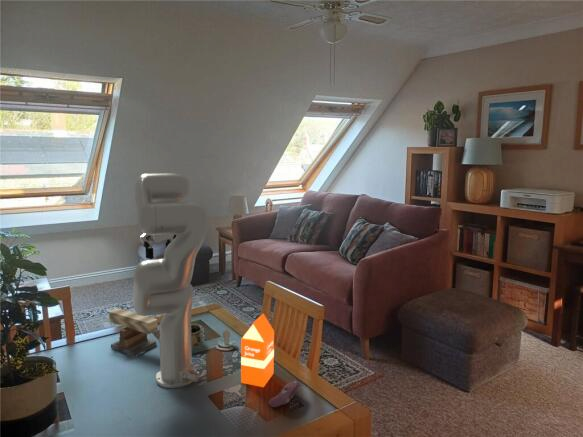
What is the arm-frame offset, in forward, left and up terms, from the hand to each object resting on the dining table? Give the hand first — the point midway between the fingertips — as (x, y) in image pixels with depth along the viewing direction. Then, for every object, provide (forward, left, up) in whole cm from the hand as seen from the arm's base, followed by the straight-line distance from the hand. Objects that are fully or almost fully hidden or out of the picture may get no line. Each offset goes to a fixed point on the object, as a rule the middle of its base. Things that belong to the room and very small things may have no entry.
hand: (159, 255), depth 159 cm
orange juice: (-46, +5, -32) cm, 57 cm away
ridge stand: (+4, +10, -32) cm, 34 cm away
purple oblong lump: (-60, +12, -33) cm, 69 cm away
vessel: (-12, -2, -33) cm, 35 cm away
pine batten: (+4, +10, -24) cm, 27 cm away
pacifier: (-24, -7, -33) cm, 41 cm away
